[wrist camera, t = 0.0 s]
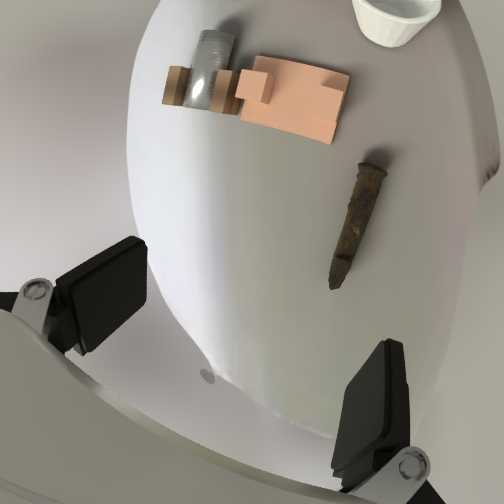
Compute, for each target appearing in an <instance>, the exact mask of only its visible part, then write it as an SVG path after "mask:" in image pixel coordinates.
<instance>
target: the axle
mask: <svg viewBox="0 0 504 504" xmlns="http://www.w3.org/2000/svg"><path fill="white" fill-rule="evenodd" d="M234 40H235V36H233V35H232V34H229V33H226V32H222V31H217V30H203V31H201V33H200V37H199V41H198V44H197V48H196V52H195V55H194V59H193V63H192V67H191V71H190V76H189V80H188V84H187V89H186V93H185V98H184V103H183V107H188V108H195V109H202V110H209V108H210V103H211V99H212V95H213V90H214V86H215V82H216V78H217V74H218V70H219V69H221V70H227V66H228V62H229V58H230V54H231V51H232V47H233V43H234Z"/></svg>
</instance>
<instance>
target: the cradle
mask: <svg viewBox="0 0 504 504" xmlns="http://www.w3.org/2000/svg"><path fill="white" fill-rule="evenodd" d="M349 78H350V76H347V75H344V74H341V73H337V72H334V71H330V70H326V69H323V68H319V67H315V66H310V65H306V64H302V63H297V62H292V61H287V60H282V59H276V58H270V57H264V56H257V55H256V58H255V61H254V65H253V69H252V71H251V70H245V69H242V71H241V75H240V79H239V83H238V87H237V91H236V95H235V97H237V98H240V99H244V100H245V101H244V105H243V109H242V113H241V117H240V120H245V121H249V122H253V123H258V124H262V125H266V126H270V127H273V128H277V129H281V130H285V131H288V132H292V133H295V134H299V135H302V136H305V137H309V138H312V139H315V140H318V141H321V142H324V143H328V144H331V143H332V140H333V136H334V133H335V129H336V126H337V122H338V119H339V115H340V112H341V108H342V104H343V101H344V97H345V93H346V89H347V86H348V82H349Z"/></svg>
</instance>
